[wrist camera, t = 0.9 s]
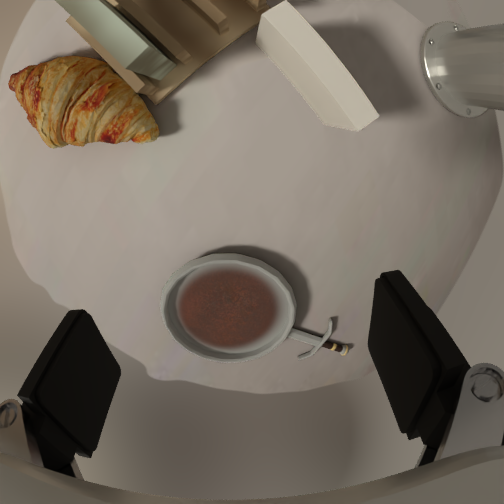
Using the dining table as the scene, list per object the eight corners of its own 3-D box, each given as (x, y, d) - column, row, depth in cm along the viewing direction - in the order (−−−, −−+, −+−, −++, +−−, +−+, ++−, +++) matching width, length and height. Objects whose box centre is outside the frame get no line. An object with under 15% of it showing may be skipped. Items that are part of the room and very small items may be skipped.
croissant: (180, 109, 30) (185, 73, 22) (137, 188, 29) (127, 170, 21) (43, 62, 24) (23, 28, 16) (1, 129, 23) (-30, 105, 16)
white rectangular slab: (272, 31, 23) (286, -1, 15) (340, 113, 27) (379, 116, 19) (255, 43, 24) (261, 14, 15) (323, 124, 28) (358, 131, 19)
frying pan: (317, 391, 43) (143, 340, 36) (314, 377, 46) (148, 326, 39) (386, 316, 37) (186, 232, 30) (379, 303, 39) (190, 221, 32)
